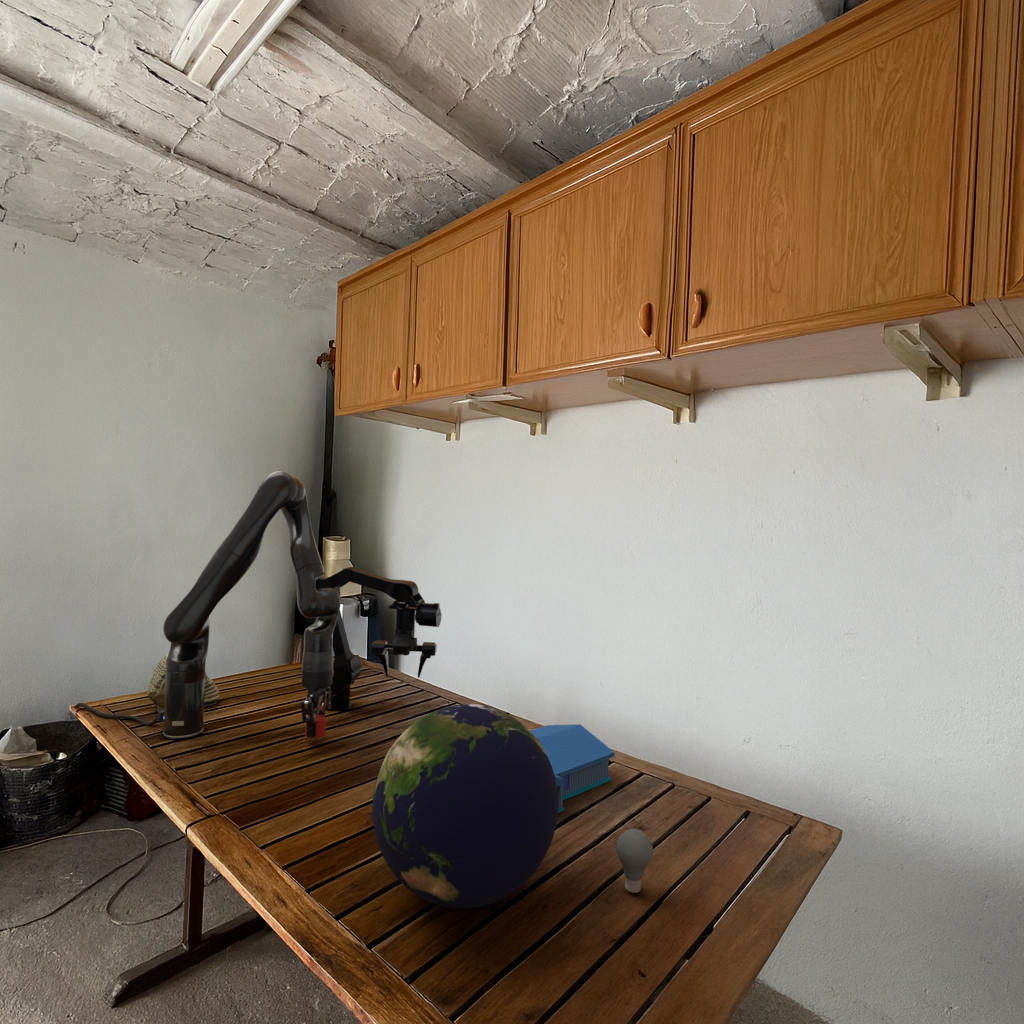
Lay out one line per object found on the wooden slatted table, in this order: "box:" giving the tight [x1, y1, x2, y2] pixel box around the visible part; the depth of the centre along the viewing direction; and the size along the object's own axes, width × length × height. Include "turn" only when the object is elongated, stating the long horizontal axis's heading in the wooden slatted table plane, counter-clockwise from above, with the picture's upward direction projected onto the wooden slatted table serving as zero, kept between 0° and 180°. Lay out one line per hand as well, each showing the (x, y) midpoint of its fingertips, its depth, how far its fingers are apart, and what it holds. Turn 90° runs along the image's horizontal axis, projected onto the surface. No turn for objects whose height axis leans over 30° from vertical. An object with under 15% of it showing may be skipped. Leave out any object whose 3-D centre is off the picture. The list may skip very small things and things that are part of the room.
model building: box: [529, 723, 615, 814], centre depth 141 cm, size 39×24×10 cm, turn 132°
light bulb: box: [615, 828, 654, 894], centre depth 106 cm, size 6×6×10 cm
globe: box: [371, 703, 559, 910], centre depth 103 cm, size 30×30×30 cm
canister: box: [304, 714, 327, 739], centre depth 162 cm, size 5×5×4 cm
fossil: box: [147, 654, 221, 711], centre depth 185 cm, size 9×18×15 cm, turn 132°
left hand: (315, 732), depth 162 cm, fingers closed on canister, 5 cm apart
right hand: (402, 677), depth 187 cm, fingers open, 9 cm apart
